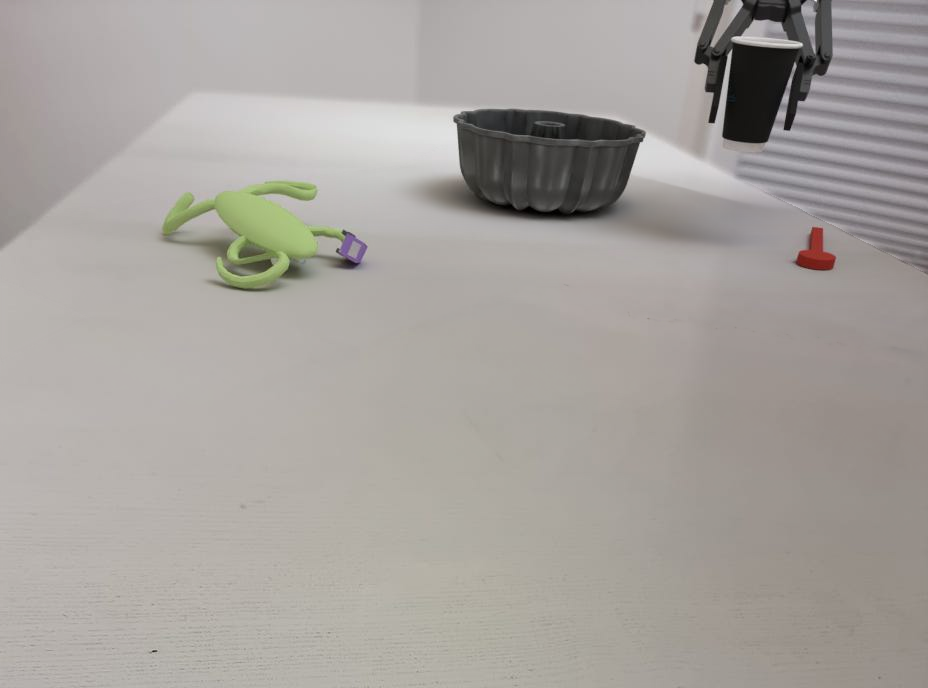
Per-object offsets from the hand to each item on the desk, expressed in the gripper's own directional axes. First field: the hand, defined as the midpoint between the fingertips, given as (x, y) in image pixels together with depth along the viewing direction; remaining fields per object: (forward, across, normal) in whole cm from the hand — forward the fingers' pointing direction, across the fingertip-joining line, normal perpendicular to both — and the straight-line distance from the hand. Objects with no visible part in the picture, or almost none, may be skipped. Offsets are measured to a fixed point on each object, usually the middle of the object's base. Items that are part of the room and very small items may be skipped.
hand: (751, 118), depth 105 cm
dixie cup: (0, 0, -5) cm, 5 cm away
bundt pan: (-1, +25, -22) cm, 33 cm away
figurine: (+27, +51, +6) cm, 58 cm away
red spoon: (+6, -12, -14) cm, 20 cm away
